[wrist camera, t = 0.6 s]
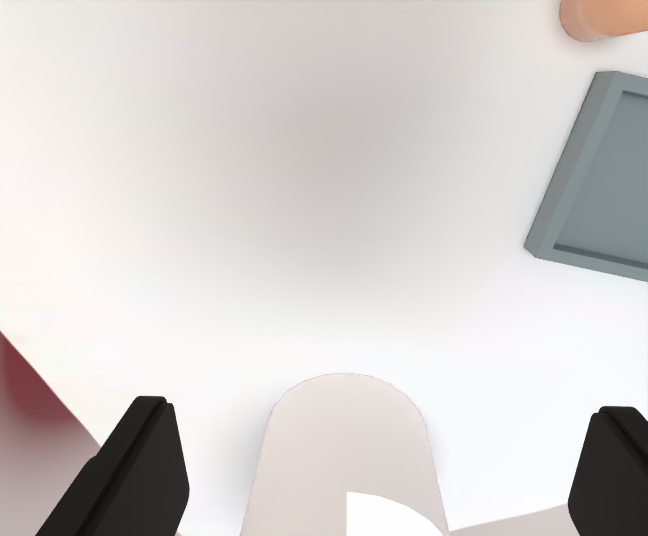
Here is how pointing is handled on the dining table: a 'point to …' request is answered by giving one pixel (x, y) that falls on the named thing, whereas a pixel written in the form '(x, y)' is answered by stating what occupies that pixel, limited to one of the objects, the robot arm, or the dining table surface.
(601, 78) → the tray
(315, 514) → the cylinder
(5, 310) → the dining table surface
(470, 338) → the dining table surface
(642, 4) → the orange rounded domed piece
